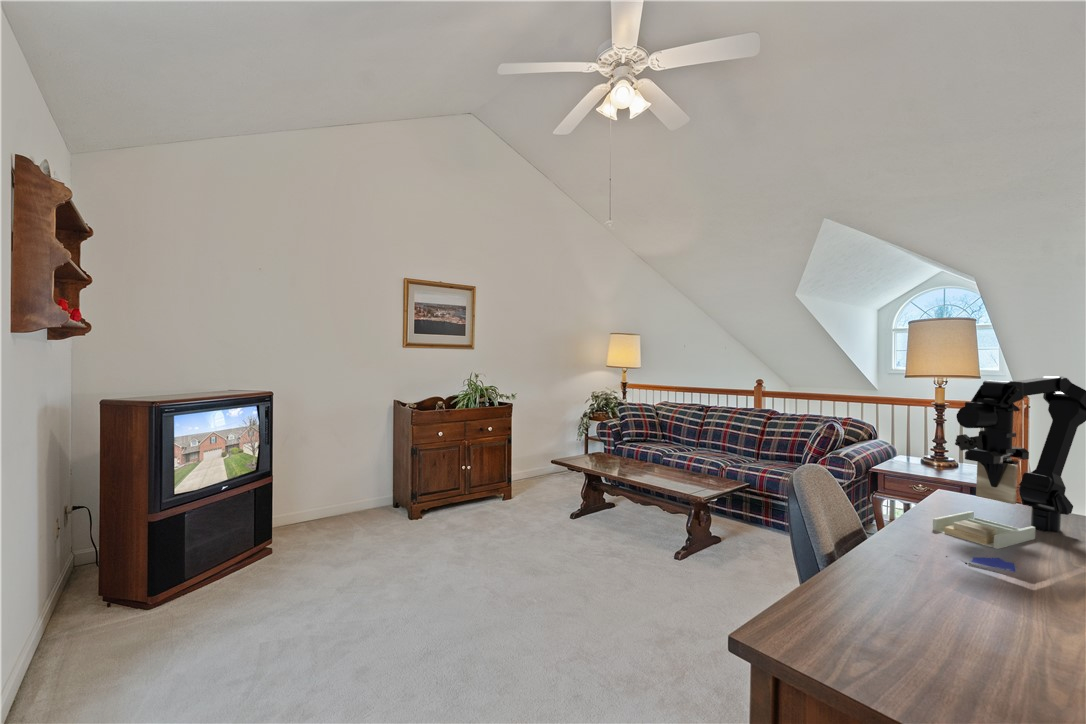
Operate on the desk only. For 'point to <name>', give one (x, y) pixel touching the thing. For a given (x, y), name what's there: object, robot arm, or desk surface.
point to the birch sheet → (1003, 490)
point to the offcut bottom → (969, 535)
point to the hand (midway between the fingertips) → (995, 486)
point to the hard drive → (992, 564)
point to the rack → (1004, 532)
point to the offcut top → (975, 528)
